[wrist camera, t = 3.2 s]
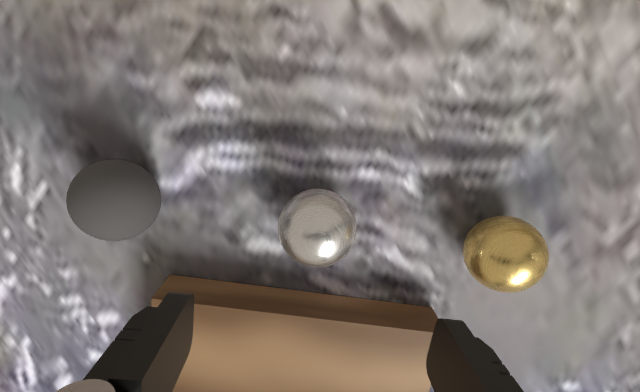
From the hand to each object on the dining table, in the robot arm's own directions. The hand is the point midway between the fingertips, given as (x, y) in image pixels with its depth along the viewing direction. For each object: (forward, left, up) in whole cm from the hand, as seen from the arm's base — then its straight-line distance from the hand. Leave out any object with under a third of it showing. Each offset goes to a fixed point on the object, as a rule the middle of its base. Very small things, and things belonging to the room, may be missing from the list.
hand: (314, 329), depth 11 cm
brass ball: (-1, +10, -7) cm, 12 cm away
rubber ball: (-1, -10, -7) cm, 12 cm away
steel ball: (-1, 0, -7) cm, 7 cm away
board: (+14, 0, -9) cm, 17 cm away
